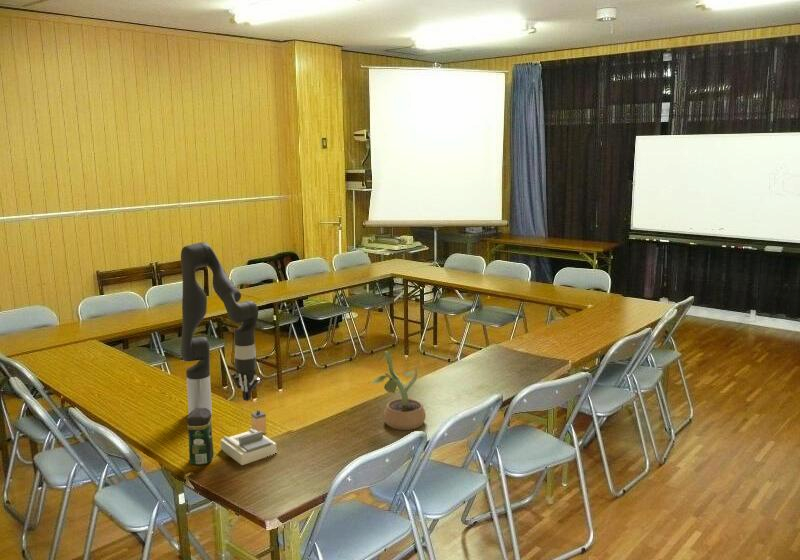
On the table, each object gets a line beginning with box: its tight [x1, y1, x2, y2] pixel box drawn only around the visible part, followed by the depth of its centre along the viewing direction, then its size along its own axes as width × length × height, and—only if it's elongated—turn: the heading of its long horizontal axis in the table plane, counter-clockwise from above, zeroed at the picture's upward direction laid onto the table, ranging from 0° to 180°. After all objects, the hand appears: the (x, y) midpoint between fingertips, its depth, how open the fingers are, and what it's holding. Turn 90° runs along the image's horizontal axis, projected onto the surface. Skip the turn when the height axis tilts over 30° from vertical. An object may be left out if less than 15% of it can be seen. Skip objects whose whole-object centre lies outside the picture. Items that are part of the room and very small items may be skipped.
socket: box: [220, 427, 278, 466], centre depth 250 cm, size 16×14×5 cm
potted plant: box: [370, 350, 427, 431], centre depth 274 cm, size 22×18×30 cm
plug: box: [250, 409, 267, 434], centre depth 265 cm, size 4×4×9 cm
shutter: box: [239, 431, 270, 452], centre depth 245 cm, size 6×9×3 cm
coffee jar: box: [186, 408, 214, 466], centre depth 242 cm, size 10×8×19 cm
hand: (247, 399), depth 253 cm, fingers closed
